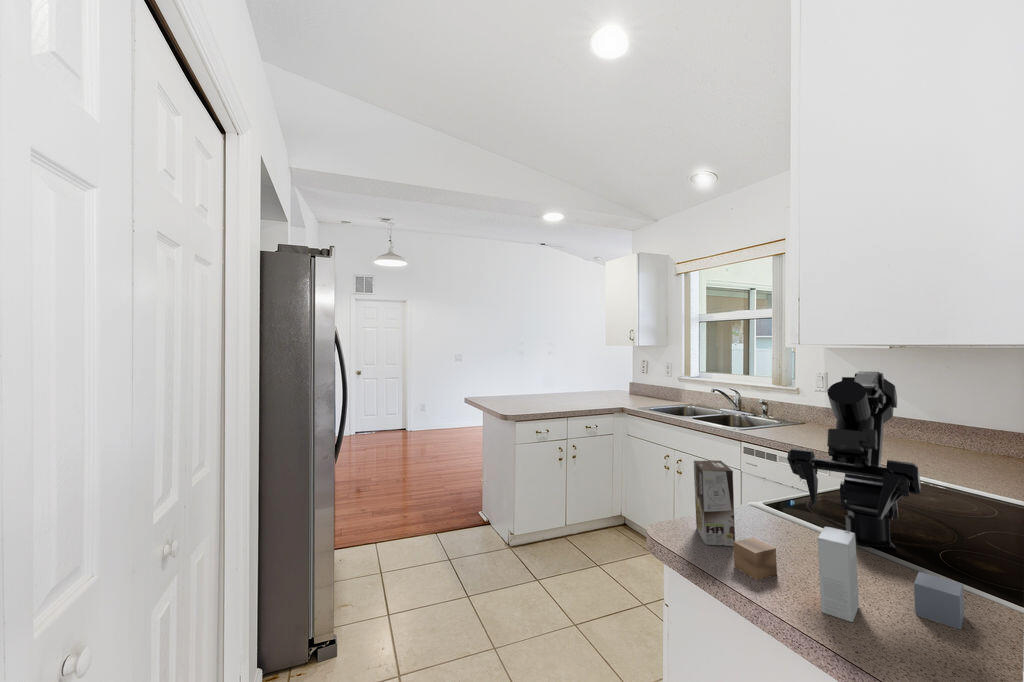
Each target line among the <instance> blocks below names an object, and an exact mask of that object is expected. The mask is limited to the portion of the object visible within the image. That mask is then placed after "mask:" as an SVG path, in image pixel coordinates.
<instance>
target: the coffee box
mask: <svg viewBox="0 0 1024 682" xmlns="http://www.w3.org/2000/svg"><path fill="white" fill-rule="evenodd" d="M693 477H694V478H693V480H694V481H693V482H694V484H693V485H694V502H695V503H694V504H695V522H696V523H695V524H696V530H697V532H698V534H699V535H700V537H701V540H702V541H703V543H704V544H705V546H706V545H710V546H722V545H724V546H725V547H734V544H733V542H735V541H736V532H735V531H736V529H735V525H736V524H735V504H734V503H735V500H734V497H735V496H734V471H733V470H732V469H731V468H730V467H729V466H728V465H727V464H725V463H724V462H723V461H722V460H693ZM724 546H723V547H724Z"/></svg>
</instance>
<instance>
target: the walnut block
mask: <svg viewBox="0 0 1024 682" xmlns="http://www.w3.org/2000/svg"><path fill="white" fill-rule="evenodd" d="M733 544H734V546H733V563H734V564H733V565H734V566H733V567H734V568H735V567H736V568H737V569H736V568H735V569H736V570H738V569H739V570H738V571H740V570H741V571H742V572H741V571H740V572H741V573H743V572H744V573H743V574H745V575H747V576H748V575H749V576H748V577H750V576H751V577H750V578H752V577H753V578H752V579H754V580H755V579H756V580H755V581H759V580H763V579H767V578H770V576H771V577H774V576H777V575H778V570H777V569H778V567H777V547H774V546H772V545H770V544H768V543H766V542H764V541H761V540H760V539H757V538H755V537H749V538H744V539H740V540H735V542H733ZM766 577H767V578H766ZM762 578H763V579H762ZM758 579H759V580H758Z"/></svg>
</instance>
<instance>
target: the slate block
mask: <svg viewBox="0 0 1024 682" xmlns="http://www.w3.org/2000/svg"><path fill="white" fill-rule="evenodd" d="M913 589H914V591H913V592H914V614H916V616H918V617H922V618H924V619H927V620H930V621H934V622H936V621H937V622H936V623H939V622H940V624H942V623H943V625H945V624H946V626H948V625H949V626H948V627H951V628H954V629H958V630H962V628H963V623H964V618H965V605H964V604H965V601H964V584H963V583H961V582H958V581H953V580H949V579H947V578H944V577H943V578H942V577H940V576H936V575H933V574H928V573H925V572H923V571H918V573H917V575H916V578H915V580H914V582H913Z"/></svg>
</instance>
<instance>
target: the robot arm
mask: <svg viewBox="0 0 1024 682" xmlns="http://www.w3.org/2000/svg"><path fill="white" fill-rule="evenodd" d="M884 377H885V376H884V373H883V372H879V371H861V370H860V371H857V372H855V373H854V376H853V377H852V376H842V377H841V381H838V382H836V383H833V384H832V385H830V386H829V388H827V391H826V392H827V396H828V400H829V403H830V407H831V411H832V415H833V416H834V417H833V418H835V420H836V421H835V428H828V429H827V443H826V444H827V447H828V451H827V454H828V457H831V458H830V459H825V458H818V457H816V456H815V452H814V450H809V449H802V448H791V449H789V450H788V452H787V457H786V458H787V459H786V460H787V461H788V465H789V467H790V469H791V471H792V474H794V475H796V476H798V478H799V479H801V480H804V481H806V484H807V489H808V493H809V498H810V501H811V505H812V506H813V507H816V506H817V501H818V488H819V485H818V483H819V479H818V476H817V475H818V470H820V471H821V470H822V471H827V472H828V471H829V472H834V473H841V474H844V479H843V481H841V480H840V483H839V484H840V486H839V495H840V496H839V497H840V502H841V503H840V505H841V510H842V511H847V514H846V515H845V516H844V517H845V531H849V532H853V533H855V541H856V545H858V546H864V547H877V548H887V549H895V548H896V546H895V544H894V543H892V542H891V529H890V520H892V521H893V519H899V509H898V502H897V501H899V499H900V498H902V497H910V495H911V494H913V495H918V494H921V478H920V477H921V476H920V470H919V466H917V465H916V463H913V462H907V461H898V460H892V459H891V460H890V459H887V460H886V467H882V452H883V439H884V438H883V436H884V427H885V426H884V425H885V423H887V422H888V421H889V420H891V419H892V418H893V417H894V409H897V408H898V395H897V389H896V388H897V387H896V385H895V384H894V383H892V382H890V381H888V380H887V379H886V378H884Z"/></svg>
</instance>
